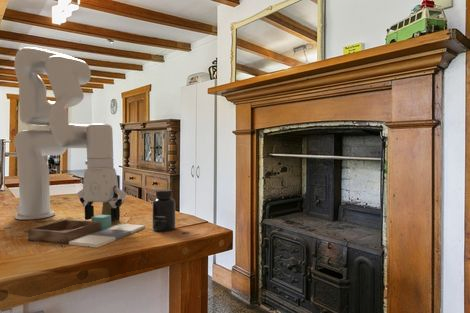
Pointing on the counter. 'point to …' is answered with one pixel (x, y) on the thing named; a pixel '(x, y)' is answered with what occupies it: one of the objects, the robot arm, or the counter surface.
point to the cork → (107, 210)
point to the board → (106, 235)
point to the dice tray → (63, 231)
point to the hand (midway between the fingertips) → (102, 219)
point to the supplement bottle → (163, 211)
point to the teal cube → (103, 221)
